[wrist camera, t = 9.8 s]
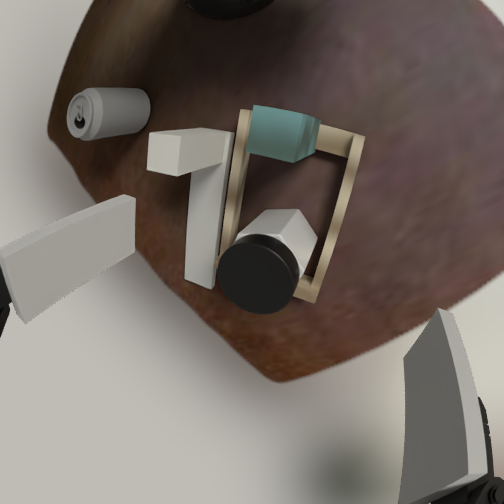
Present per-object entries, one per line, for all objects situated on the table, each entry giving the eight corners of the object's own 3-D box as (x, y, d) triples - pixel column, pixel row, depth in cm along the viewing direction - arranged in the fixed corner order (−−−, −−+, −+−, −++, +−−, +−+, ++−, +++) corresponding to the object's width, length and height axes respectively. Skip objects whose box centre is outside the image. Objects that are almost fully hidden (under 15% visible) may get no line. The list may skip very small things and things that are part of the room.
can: (118, 127, 39) (60, 137, 29) (126, 86, 35) (68, 86, 25) (148, 137, 38) (88, 148, 28) (159, 91, 34) (97, 90, 24)
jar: (243, 224, 39) (199, 262, 28) (290, 193, 34) (258, 223, 24) (279, 275, 40) (249, 327, 30) (327, 250, 36) (312, 302, 26)
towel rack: (248, 106, 31) (197, 98, 21) (365, 132, 27) (371, 131, 17) (226, 255, 41) (181, 298, 31) (319, 287, 38) (300, 345, 28)
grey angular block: (201, 127, 34) (145, 132, 25) (234, 132, 33) (185, 137, 24) (188, 275, 46) (147, 312, 36) (214, 285, 45) (176, 327, 35)
